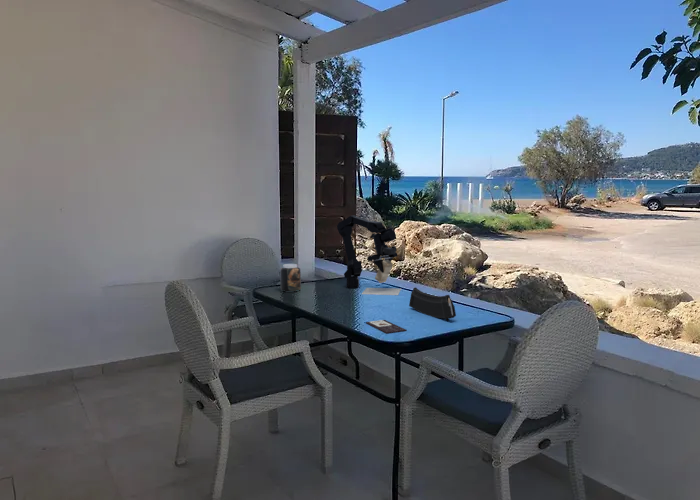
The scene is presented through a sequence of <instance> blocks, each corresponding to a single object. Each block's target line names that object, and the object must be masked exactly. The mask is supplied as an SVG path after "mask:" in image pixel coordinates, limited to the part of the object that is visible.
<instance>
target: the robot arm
mask: <svg viewBox="0 0 700 500" xmlns="http://www.w3.org/2000/svg"><path fill="white" fill-rule="evenodd" d="M355 225H357V226H359V227H362V228H365V229H367V231H369V232H370V233H371V235H370V236H369V238H370V239H372V240H373V243H374V247H373V250H375V252H376V254H371V255H369V256H367V262H372V263H373V264H374V265H375V266H377V268H378V270H379V269H380V271H381V272H382V273H383V272H384V269H383V263H382V262H383V260H389V261H390V262H391V263H392V261H393V260H394V258H396V257H398V252H397V250H398V249H397V246H396V245H391V247H389V246H388V244H386V243H388V242H392V241H395V240H396V238H397V234H396V232H395V231H394V230H393V228H392V227H389V228H386V227H385V226H384V225H383V223H382V222H381V221H373V220H368V219H366V218H362V217H359V216H357V215H350V216H348V217H346V218H345V219H343V220H341V221H340V222H338V223H337V225H336V228H337V232H338V233H339V235H340V236H341V237H342V240H343V245H344V249H345V252H346V257H347V264H346V271H345V272H344V273H343V276H344V278H346V287H349V288H348V289H358V288H359V287H360V279H359V277H361V273H362V271H363V266H362V260H359V259H357V256H356V251H355V248H354V243H353V239H352V232H353V227H354V226H355ZM358 286H359V287H358ZM357 287H358V288H357Z"/></svg>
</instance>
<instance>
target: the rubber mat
mask: <svg viewBox="0 0 700 500" xmlns="http://www.w3.org/2000/svg"><path fill="white" fill-rule="evenodd" d="M401 290H402V288H394V287H392V288H391V287H388V288H387V287H366V288H365V289H364V290H363V291H362V293H361V295H377V296H378V295H379V296H399V294H400V292H401Z"/></svg>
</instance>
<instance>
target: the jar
mask: <svg viewBox="0 0 700 500" xmlns="http://www.w3.org/2000/svg"><path fill="white" fill-rule="evenodd" d="M301 274H302V273H301V268H300V267H298V264H296V263H284V264H283V265H282V267H281V268H280V272H279V275H280V276H279V279H280V291H281V290H285V291H296V290H300V289H301V290H302V280H301V279H302V277H301Z"/></svg>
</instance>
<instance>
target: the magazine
mask: <svg viewBox="0 0 700 500" xmlns="http://www.w3.org/2000/svg"><path fill="white" fill-rule="evenodd" d="M408 307H410V308H412V309H413V310H416V311H417V312H419V313H421V314H424V315H427V316H429V317H433V318H437V319H443V320H446V321H447V322H449V321H450V319H454V318H455V317H456V316H457V313H456V308H455V304H454V302H453V300H452V298H451V296H450V295H449V294H446V295H442V296H441V295H433V294H430V293H427V292H424V291H422V290H420V289H418V288H417V287H414V288H413V289H412V291H411V293H410V297H409V305H408Z"/></svg>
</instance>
